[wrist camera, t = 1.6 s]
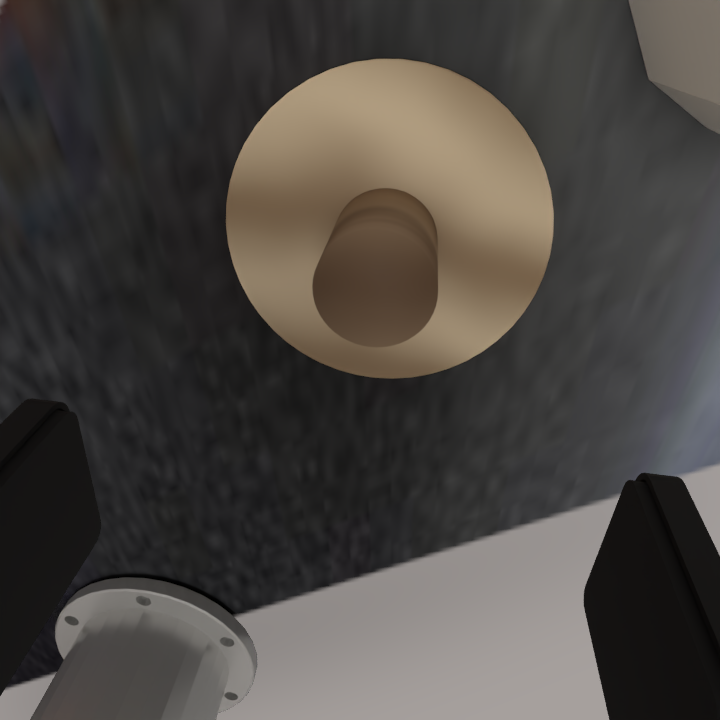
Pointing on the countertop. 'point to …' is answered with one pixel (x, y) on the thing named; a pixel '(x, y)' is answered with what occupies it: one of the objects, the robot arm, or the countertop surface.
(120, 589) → the robot arm
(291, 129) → the lid
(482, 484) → the countertop surface
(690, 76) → the pot
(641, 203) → the countertop surface
